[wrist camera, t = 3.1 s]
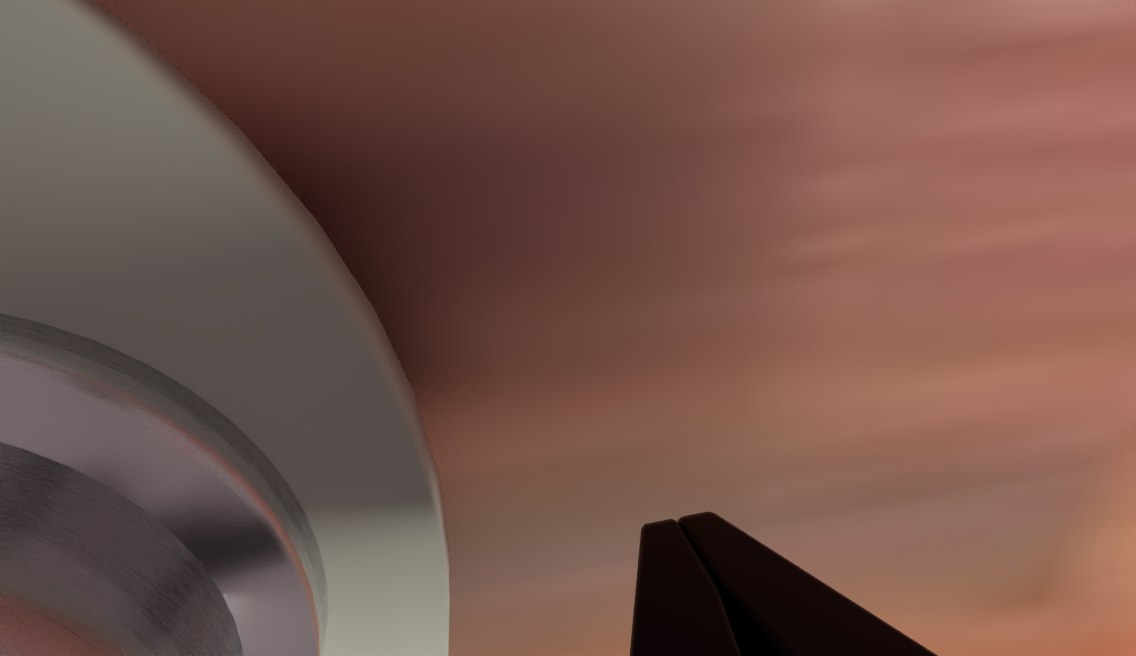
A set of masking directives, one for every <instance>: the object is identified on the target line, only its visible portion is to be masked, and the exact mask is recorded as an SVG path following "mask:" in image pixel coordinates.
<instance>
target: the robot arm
mask: <svg viewBox="0 0 1136 656" xmlns="http://www.w3.org/2000/svg"><path fill="white" fill-rule="evenodd" d="M630 656H937V655H936V654H934V653H933V652H931V651H930V650H928V649H927V648H925V647H923V646H922V645H920V644H919V643H917V642H916V641H914V640H912V639H911V638H909V637H908V636H906V635H905V634H903V633H901V632H900V631H898V630H897V629H895V628H894V627H892V626H890V625H889V624H887V623H886V622H884V621H883V620H881V619H880V618H878V617H876V616H875V615H873V614H872V613H870V612H869V611H867V610H865V609H864V608H862V607H861V606H859V605H858V604H856V603H854V602H853V601H851V600H850V599H848V598H847V597H845V596H843V595H842V594H840V593H839V592H837V591H836V590H834V589H832V588H831V587H829V586H828V585H826V584H825V583H823V582H822V581H820V580H818V579H817V578H815V577H814V576H812V575H811V574H809V573H807V572H806V571H804V570H803V569H801V568H800V567H798V566H796V565H795V564H793V563H792V562H790V561H789V560H787V559H785V558H784V557H782V556H781V555H779V554H778V553H776V552H775V551H773V550H771V549H770V548H768V547H767V546H765V545H764V544H762V543H760V542H759V541H757V540H756V539H754V538H753V537H751V536H749V535H748V534H746V533H745V532H743V531H742V530H740V529H738V528H737V527H735V526H734V525H732V524H731V523H729V522H728V521H726V520H724V519H723V518H721V517H720V516H718V515H717V514H715V513H712V512H703V513H698V514H693V515H688V516H683V517H681V518H680V519H679V520H678V522H677V521H676V520H673V519H668V520H663V521H658V522H653V523H648V524H645V525H644V526H643V527H642V529H641V537H640V548H639V559H638V570H637V581H636V592H635V603H634V614H633V625H632V636H631V647H630Z"/></svg>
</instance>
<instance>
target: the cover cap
mask: <svg viewBox="0 0 1136 656" xmlns="http://www.w3.org/2000/svg"><path fill="white" fill-rule="evenodd" d="M327 618H328V598H327V580H326V575H325V571H324V566H323V562H322V558H321V553H320V549H319V546H318V543H317V541H316V538H315V536H314V533H313V531H312V528H311V526H310V523H309V521H308V518H307V516H306V514H305V512H304V510H303V509H302V507H301V505H300V503H299V502H298V500H297V498H296V497H295V495H294V493H293V492H292V490H291V488H290V487H289V485H288V483H287V482H286V480H285V479H284V478H283V476H282V475H281V474H280V473H279V471H278V470H277V469H276V468H275V466H274V465H273V464H272V463H271V461H270V460H269V459H268V458H267V457H266V455H265V454H264V453H263V452H262V450H261V449H260V448H259V447H258V446H257V445H256V444H255V443H254V442H253V441H252V440H251V439H250V438H249V437H247V436H246V435H245V434H244V433H243V432H242V431H241V430H240V429H239V428H238V427H237V426H236V425H235V424H234V423H233V422H232V421H231V420H230V419H229V418H228V417H226V416H225V415H224V414H222V413H221V412H220V411H218V410H217V409H216V408H214V407H213V406H212V405H210V404H209V403H208V402H206V401H205V400H204V399H202V398H201V397H200V396H198V395H197V394H196V393H194V392H193V391H192V390H190V389H189V388H187V387H185V386H184V385H182V384H180V383H178V382H177V381H175V380H173V379H172V378H170V377H168V376H167V375H165V374H163V373H161V372H160V371H158V370H156V369H155V368H153V367H151V366H150V365H148V364H146V363H144V362H142V361H140V360H137V359H135V358H133V357H131V356H129V355H126V354H124V353H122V352H120V351H118V350H115V349H113V348H111V347H109V346H107V345H104V344H102V343H100V342H98V341H95V340H92V339H89V338H86V337H83V336H80V335H77V334H74V333H71V332H68V331H65V330H62V329H59V328H56V327H53V326H50V325H47V324H44V323H41V322H36V321H32V320H27V319H23V318H19V317H14V316H10V315H5V314H1V313H0V656H322V654H323V648H324V642H325V634H326V626H327Z"/></svg>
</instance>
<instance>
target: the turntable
mask: <svg viewBox="0 0 1136 656" xmlns="http://www.w3.org/2000/svg"><path fill="white" fill-rule="evenodd" d="M0 313H1V314H5V315H10V316H14V317H19V318H23V319H27V320H32V321H36V322H41V323H44V324H47V325H50V326H53V327H56V328H59V329H62V330H65V331H68V332H71V333H74V334H77V335H80V336H83V337H86V338H89V339H92V340H95V341H98V342H100V343H102V344H104V345H107V346H109V347H111V348H113V349H115V350H118V351H120V352H122V353H124V354H126V355H129V356H131V357H133V358H135V359H137V360H140V361H142V362H144V363H146V364H148V365H150V366H151V367H153V368H155V369H156V370H158V371H160V372H161V373H163V374H165V375H167V376H168V377H170V378H172V379H173V380H175V381H177V382H178V383H180V384H182V385H184V386H185V387H187V388H189V389H190V390H192V391H193V392H194V393H196V394H197V395H198V396H200V397H201V398H202V399H204V400H205V401H206V402H208V403H209V404H210V405H212V406H213V407H214V408H216V409H217V410H218V411H220V412H221V413H222V414H224V415H225V416H226V417H228V418H229V419H230V420H231V421H232V422H233V423H234V424H235V425H236V426H237V427H238V428H239V429H240V430H241V431H242V432H243V433H244V434H245V435H246V436H247V437H249V438H250V439H251V440H252V441H253V442H254V443H255V444H256V445H257V446H258V447H259V448H260V449H261V450H262V452H263V453H264V454H265V455H266V457H267V458H268V459H269V460H270V461H271V463H272V464H273V465H274V466H275V468H276V469H277V470H278V471H279V473H280V474H281V475H282V476H283V478H284V479H285V480H286V482H287V483H288V485H289V487H290V488H291V490H292V492H293V493H294V495H295V497H296V498H297V500H298V502H299V503H300V505H301V507H302V509H303V510H304V512H305V514H306V516H307V518H308V521H309V523H310V526H311V528H312V531H313V533H314V536H315V538H316V541H317V543H318V546H319V549H320V553H321V558H322V562H323V566H324V571H325V575H326V580H327V598H328V618H327V626H326V634H325V642H324V648H323V654H322V656H448V646H449V605H450V600H449V546H448V538H447V531H446V524H445V517H444V510H443V503H442V496H441V489H440V482H439V475H438V470H437V467H436V463H435V460H434V457H433V453H432V450H431V447H430V444H429V440H428V437H427V434H426V430H425V427H424V424H423V421H422V417H421V414H420V411H419V408H418V404H417V401H416V398H415V394H414V392H413V390H412V388H411V385H410V383H409V381H408V379H407V377H406V375H405V373H404V371H403V368H402V366H401V364H400V362H399V360H398V358H397V356H396V354H395V352H394V349H393V347H392V345H391V343H390V341H389V339H388V337H387V335H386V332H385V330H384V328H383V326H382V324H381V322H380V320H379V318H378V316H377V313H376V311H375V309H374V308H373V306H372V305H371V303H370V301H369V300H368V298H367V297H366V295H365V294H364V292H363V291H362V289H361V288H360V286H359V284H358V283H357V281H356V280H355V278H354V277H353V275H352V274H351V272H350V271H349V269H348V268H347V266H346V264H345V263H344V261H343V260H342V258H341V257H340V255H339V254H338V252H337V251H336V249H335V247H334V246H333V244H332V243H331V241H330V240H329V238H328V237H327V235H326V234H325V232H324V231H323V229H322V227H321V226H320V224H319V223H318V221H317V220H316V219H315V218H314V216H313V215H312V214H311V213H310V212H309V210H308V209H307V208H306V207H305V206H304V205H303V203H302V202H301V201H300V200H299V199H298V197H297V196H296V195H295V194H294V193H293V191H292V190H291V189H290V188H289V187H288V185H287V184H286V183H285V182H284V181H283V180H282V178H281V177H280V176H279V175H278V174H277V172H276V171H275V170H274V169H273V168H272V166H271V165H270V164H269V163H268V162H267V160H266V159H265V158H264V157H263V156H262V155H261V153H260V152H259V151H258V150H257V149H256V147H255V146H254V145H253V144H252V143H251V141H250V140H249V139H248V138H247V137H246V135H245V134H244V133H243V132H242V131H241V130H240V129H239V128H238V127H237V126H236V125H235V124H234V123H233V122H232V121H231V120H230V119H229V118H228V117H227V116H226V115H225V114H224V113H223V112H222V111H220V110H219V109H218V108H217V107H216V106H215V105H214V104H213V103H212V102H211V101H210V100H209V99H208V98H207V97H206V96H205V95H204V94H203V93H201V92H200V91H199V90H198V89H197V88H196V87H195V86H194V85H193V84H192V83H191V82H190V81H189V80H188V79H187V78H186V77H185V76H183V75H182V74H181V73H180V72H179V71H178V70H177V69H176V68H175V67H174V66H173V65H172V64H171V63H170V62H169V61H168V60H167V59H166V58H164V57H163V56H162V55H161V54H160V53H159V52H158V51H157V50H156V49H155V48H154V47H153V46H152V45H151V44H150V43H149V42H148V41H146V40H145V39H144V38H143V37H142V36H141V35H140V34H139V33H137V32H136V31H135V30H133V29H132V28H131V27H129V26H128V25H127V24H125V23H124V22H123V21H121V20H120V19H119V18H118V17H116V16H115V15H114V14H112V13H111V12H110V11H108V10H107V9H106V8H104V7H103V6H102V5H100V4H99V3H98V2H97V1H95V0H0Z"/></svg>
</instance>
